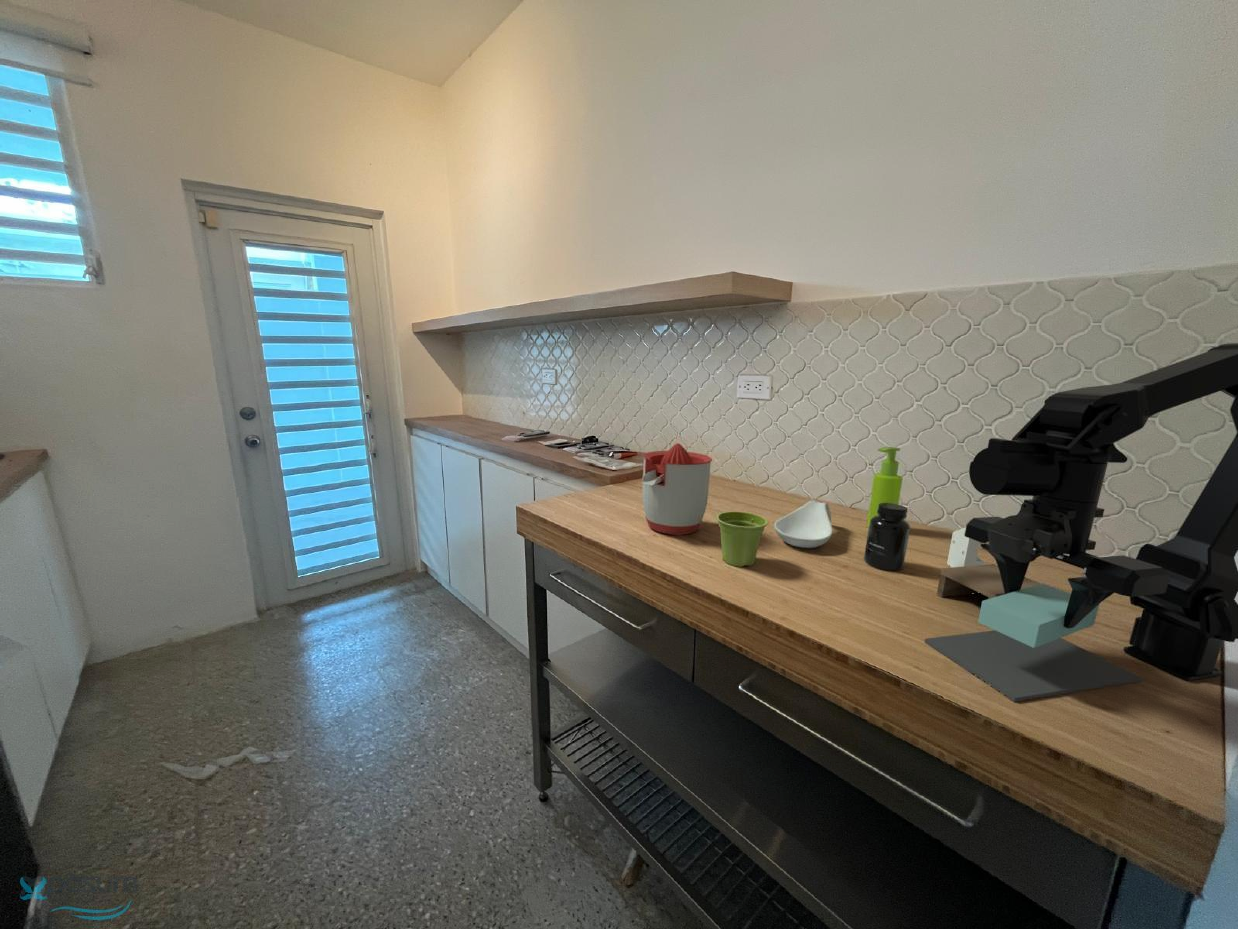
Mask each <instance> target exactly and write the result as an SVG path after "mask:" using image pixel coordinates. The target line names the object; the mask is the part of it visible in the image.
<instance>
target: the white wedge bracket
mask: <svg viewBox="0 0 1238 929" xmlns="http://www.w3.org/2000/svg"><path fill="white" fill-rule="evenodd" d="M965 529H966V526H965V527H963V528H960V529H957V530H954V531H952V535H951V541H950V546H949V551H948V556H947V562H946V565H947V566H949V565H950V566H951V567H964V566H976V565H988V562H987V561H985V560H984V559H982V558H981V557H980V556H978V555H979V554H978V553H979V549H980V548H979V547H980V545H981V542H978V541H976V540H973V539H970V538H968V537H965V535H964V534H965ZM950 566H949V567H950ZM951 567H950V568H951Z"/></svg>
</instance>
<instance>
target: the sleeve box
mask: <svg viewBox="0 0 1238 929" xmlns="http://www.w3.org/2000/svg"><path fill="white" fill-rule="evenodd" d="M1039 584H1041V582H1037V581H1035V580H1033V579H1031V578H1028V577H1026V576H1025V578H1024V581H1023V584H1022V587H1021V589H1020V590H1022V589H1025V588H1029V587H1032V586H1035V585H1039ZM978 592H979V593H981V594H982V595H983V596H985V597H987V599H991V598H994V597H997V596H1001V595H1004V594H1005V592H1004V588H1003V584H1002V579H1001V575H1000V571H999V568H998V565H997V564H994V563H992V564H991V563H990V564H987V565H976V566H964V567H941V570H940V574H939V580H938V585H937V592H936V595H937V594H938V595H939V597H940V596H942V597H941V598H945V597H944V596H951V597H960V596H959V595H961V596H965V595H964V594H971V595H973V594H972V593H978ZM981 594H980V595H981ZM938 595H937V596H938ZM957 595H958V596H957Z"/></svg>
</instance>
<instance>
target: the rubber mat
mask: <svg viewBox="0 0 1238 929" xmlns="http://www.w3.org/2000/svg"><path fill="white" fill-rule="evenodd" d="M923 641H924V643H925V644H926V645H928V646H930V647H931V648H933V649H935V651H937V650H938V651H937V652H939V653H941V654H942V655H943V656H944V657H946V656H947V657H946V658H948V657H949V658H950V659H949V658H948V659H949V660H950V661H952V662H954V661H955V662H954V663H955V664H956V665H958V664H959V665H958V666H959V667H961V668H963V667H964V668H965V669H964V668H963V669H964V670H965V671H967V672H969V671H970V672H971V674H972V673H973V674H975V675H976V676H977V677H976V676H975V675H974V676H975V677H976V678H978V677H979V678H980V679H982V680H981V681H982V682H983V681H985V682H986V683H987V685H988V684H990V685H991V686H992V687H991V686H990V687H991V688H992V689H994V688H995V689H996V690H995V689H994V690H995V691H997V692H998V691H1000V692H1001V693H1003V694H1004V695H1006V696H1005V697H1006V698H1007V697H1008V699H1009V698H1010V699H1009V700H1010V701H1011V702H1013V703H1017V702H1022V701H1027V699H1029V700H1033V699H1032V698H1035V699H1040V698H1045V697H1044V696H1047V697H1052V696H1051V695H1053V696H1057V695H1058V696H1059V695H1065V694H1069V693H1070V692H1071V693H1077V692H1082V691H1088V690H1096V689H1099V688H1100V689H1101V688H1106V687H1113V686H1118V685H1125V684H1131V683H1137V682H1138V683H1139V682H1141V680H1142V677H1141V676H1139V675H1137V674H1135V673H1133V672H1131V671H1129V670H1127V669H1125V668H1123V667H1121V666H1118V665H1117V664H1115V663H1113V662H1112V661H1109V660H1106V659H1105V658H1102V657H1100V656H1099V655H1096V654H1094V653H1093V652H1091V651H1088V650H1086V649H1084V648H1083V647H1080V646H1078V645H1076V644H1075V643H1072V642H1071V641H1068V640H1066V639H1064V638H1063V637H1061V638H1059V639H1056V640H1053V641H1051V642H1048V643H1046V644H1043V645H1040V646H1038V647H1035V648H1033V647H1031V646H1029V645H1026V644H1024V643H1022V642H1020V641H1018V640H1015V639H1013V638H1011V637H1009V636H1007V635H1005V634H1002V633H1000V632H998V631H996V630H994V629H993V630H987V631H979V632H972V633H971V632H970V633H962V634H955V635H953V634H952V635H945V636H937V637H936V636H935V637H928V638H925V639H924V640H923ZM970 672H969V673H970ZM973 674H972V675H973ZM979 678H978V679H979ZM980 679H979V680H980ZM985 682H984V683H985ZM986 683H985V684H986ZM1000 692H999V693H1000ZM1001 693H1000V694H1001ZM1003 694H1002V695H1003ZM1004 695H1003V696H1004ZM1038 697H1040V698H1038ZM1021 700H1022V701H1021Z"/></svg>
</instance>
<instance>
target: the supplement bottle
mask: <svg viewBox="0 0 1238 929" xmlns="http://www.w3.org/2000/svg"><path fill="white" fill-rule="evenodd" d="M877 514H878V516H875V517H873V518H872V519H871V520H870V524H869V528H868V531H867V537H866V543H865V549H864V555H863V559H864V562H865V563H866V564H867V565H869V567H873V568H876V569H879V570H881V571H887V572H898V571H900V570H902V569H903V568H904V563H905V560H906V555H907V549H908V543H909V539H910V538H909V537H910V534H911V525H910V523H908V522H907V521H906V519H907V514H908V508H907V507H906V506H903V505H901V504H893V503H880V504H879V506H878V510H877Z"/></svg>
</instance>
